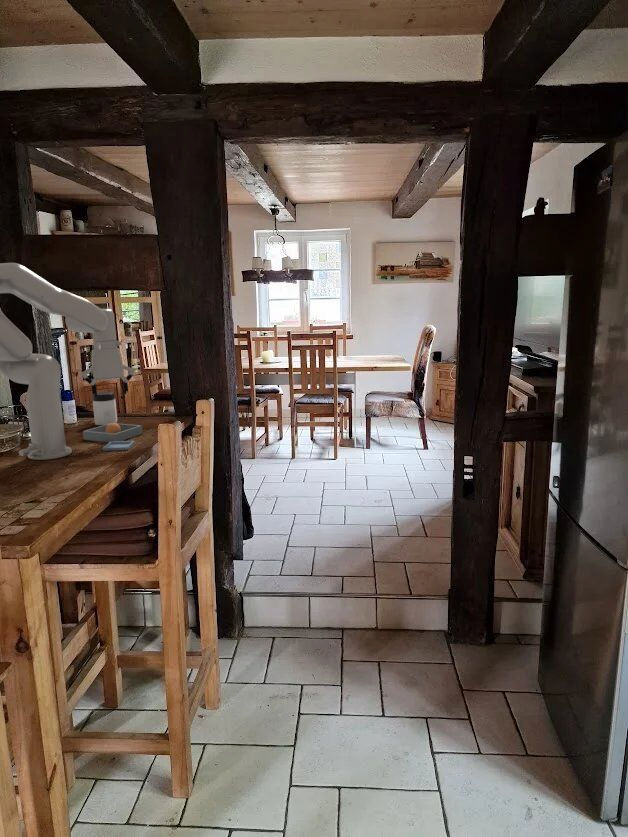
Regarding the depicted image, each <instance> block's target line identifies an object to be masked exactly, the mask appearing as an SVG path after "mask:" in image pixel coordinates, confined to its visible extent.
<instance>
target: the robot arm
mask: <svg viewBox="0 0 628 837" xmlns="http://www.w3.org/2000/svg"><path fill="white" fill-rule="evenodd" d="M0 294H12V295H14V296H16V297H17V298H19V299H21V300H22V301H24V302H26V303H28V304H29V305H31V306H33V307H34V308H36V309H37V310H39V311H42V312H45V313H48V314H52V315H56V316H62V317H65V325H66V327H67V328H68V329H69V330H71V331H73V332H75V333H89V334H91V333H92V343H93V349H92V350H91V358H90V359H91V367H89V368H87V369H85V370H84V371H82V372H81V376H82V377H83V379H84V381H86V382H87V383H88V384H89V385H90V386H91V393H92V394H95V397H97V392H98V390H97V384H96V382H97V381H98V380H110V379H111V380H113V379H119V378H120V379H121V380H122V387H123V388H122V390H123V394H124V395H127V392H129V386H128V385H129V384H128V383H129V381H130V380H131V379H132V378H133V375H134V373H135V369H134V368H132V367H130V366H128V365H125V364H124V363H123V357H122V353H121V350H120V348H118V347H119V346H122V341H119V340H117V331H116V324H115V323H116V322H115V313H114V311H113V310H112V309H111V308H100V307H99V306H97V305H96V304H94V303H93V302H91V301H90V300H88V299H86V298H83V297H82V296H79V295H76V294H74V293H71V292H69V291H67V290H64V289H61V288H59V287H57V286H56V285H53V284H52V283H50V282H49V281H48V280H46V279H45V278H43V277H42V276H39V275H38V274H37V273H35V272H34V271H32V270H31V269H29V268H27V267H26V266H24V265H22V264H20V263H17V262H3V263H1V262H0ZM125 371H128V372H129V373H128V375H127V376H125ZM91 372H92V376H93V377H92V378H90V377H88V374H90V373H91ZM0 373H1V374H3V375H4V376H5V377H6V378H8V379H9V380H10V381H12V382H14V383H16V384H21V385H22V384H23V385H28V388H27V391H26V396H25V397H26V400H25V402H26V409H27V416H28V424H29V425H28V426H29V431H30V440H31V442H30V443H28V447H26V448H23V449H19V451H18V455H19V456H20V457H24V456H27V458H28V459H30V460H36V461H37V460H38V461H45V460H54V459H60V458H63V457H66V456H69V455H70V454H72V453H73V451H72V450H73V449H72V448H71V447H70V446H67V445H66V444H67V443H66V435H65V428H64V427H65V426H64V418H63V411H62V401H61V400H62V399H61V378H62V375H61V374H62V369H61V365H60V363H59V362H58V360H57V359H56V358H54V357H53V356H51V355H49V354H46V353H33V343H32V341H31V339H29V337H27V335H25V333H24V332H22V330H20V328H18V327H17V326H16V325H15V324H14V323H13V322H12V321H11V320H10V319H9V318H8V317H7V316H6V315H5V313H4V312H3V311H2V308H0ZM92 394H91V395H92Z"/></svg>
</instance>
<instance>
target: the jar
mask: <svg viewBox="0 0 628 837" xmlns="http://www.w3.org/2000/svg"><path fill="white" fill-rule="evenodd" d="M91 396H92V407H93V416H94V418H93V419H94V425H95V426H102V425H106V424H109V423H118V413H117V403H116V394H115V392H114V391H109V390H108V391H97V397H95V394H91Z"/></svg>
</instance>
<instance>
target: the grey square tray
mask: <svg viewBox="0 0 628 837" xmlns="http://www.w3.org/2000/svg"><path fill="white" fill-rule="evenodd" d="M109 424H110V423H109ZM117 424H118V425H119V426H120V428H121V431H120V432H118V433H115V434H112V433H106V427H107V425H108V424H106V425H98V426H97V427H96V426H95V427H93V428H89V429H85V430H83V431H82V436H83V440H85V441H92V442H102V443H103V442H104V443H109V442H115V441H125V440H126V441H127V440H128V439H129V440H130V439H131V438H135V437H137V436H140V435H143V433H144V430H143V425H141V424H129V423H118V422H117Z"/></svg>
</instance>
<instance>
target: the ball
mask: <svg viewBox="0 0 628 837" xmlns="http://www.w3.org/2000/svg"><path fill="white" fill-rule="evenodd" d="M117 423H118V422H117ZM117 423H110V424H108V425H107V427H106V433H112V434H115V433H118V432H120V431H121V428H120V426H119V425H118V424H117Z"/></svg>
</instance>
